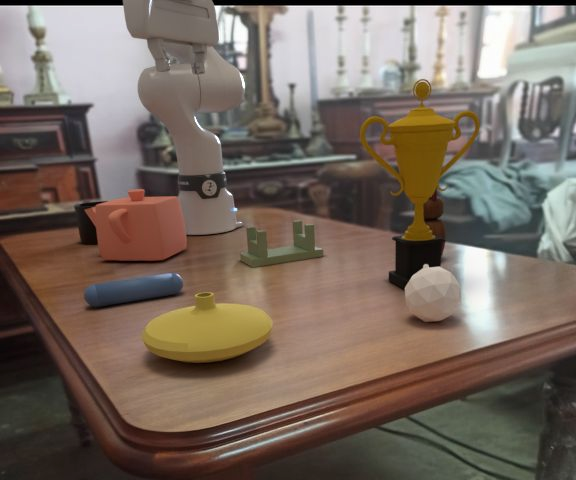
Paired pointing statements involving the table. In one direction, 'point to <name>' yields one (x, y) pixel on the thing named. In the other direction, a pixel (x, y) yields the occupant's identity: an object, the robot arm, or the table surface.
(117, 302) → the handle
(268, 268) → the table surface
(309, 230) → the holder
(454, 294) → the ornament
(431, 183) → the trophy
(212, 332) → the vase
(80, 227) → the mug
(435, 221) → the wooden figurine
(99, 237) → the teapot
